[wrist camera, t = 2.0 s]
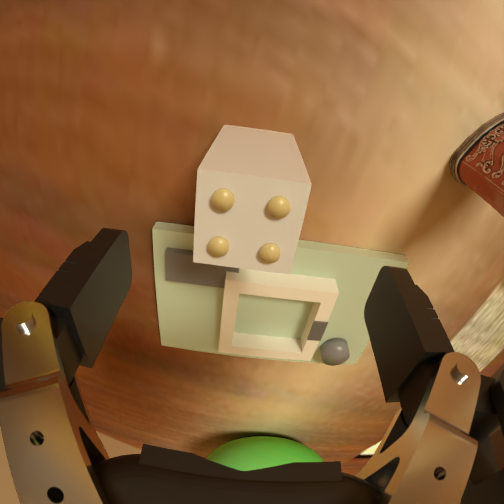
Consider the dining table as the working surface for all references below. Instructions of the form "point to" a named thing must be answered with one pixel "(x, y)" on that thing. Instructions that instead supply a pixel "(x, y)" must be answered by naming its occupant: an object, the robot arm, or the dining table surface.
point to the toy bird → (261, 453)
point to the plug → (250, 200)
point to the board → (266, 301)
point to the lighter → (483, 162)
